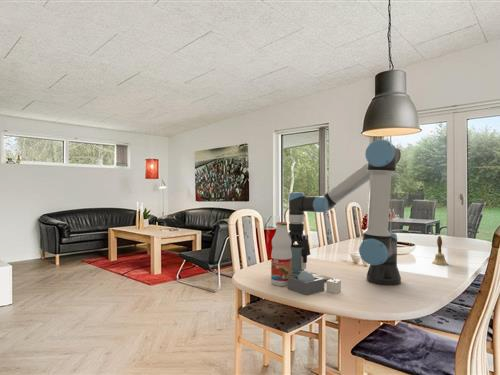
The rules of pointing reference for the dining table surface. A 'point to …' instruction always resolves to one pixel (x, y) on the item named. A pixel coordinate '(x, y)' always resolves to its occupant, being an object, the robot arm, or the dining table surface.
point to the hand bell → (439, 254)
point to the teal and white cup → (296, 258)
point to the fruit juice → (281, 256)
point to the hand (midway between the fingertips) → (296, 267)
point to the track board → (313, 275)
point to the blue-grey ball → (305, 276)
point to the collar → (306, 285)
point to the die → (333, 285)
